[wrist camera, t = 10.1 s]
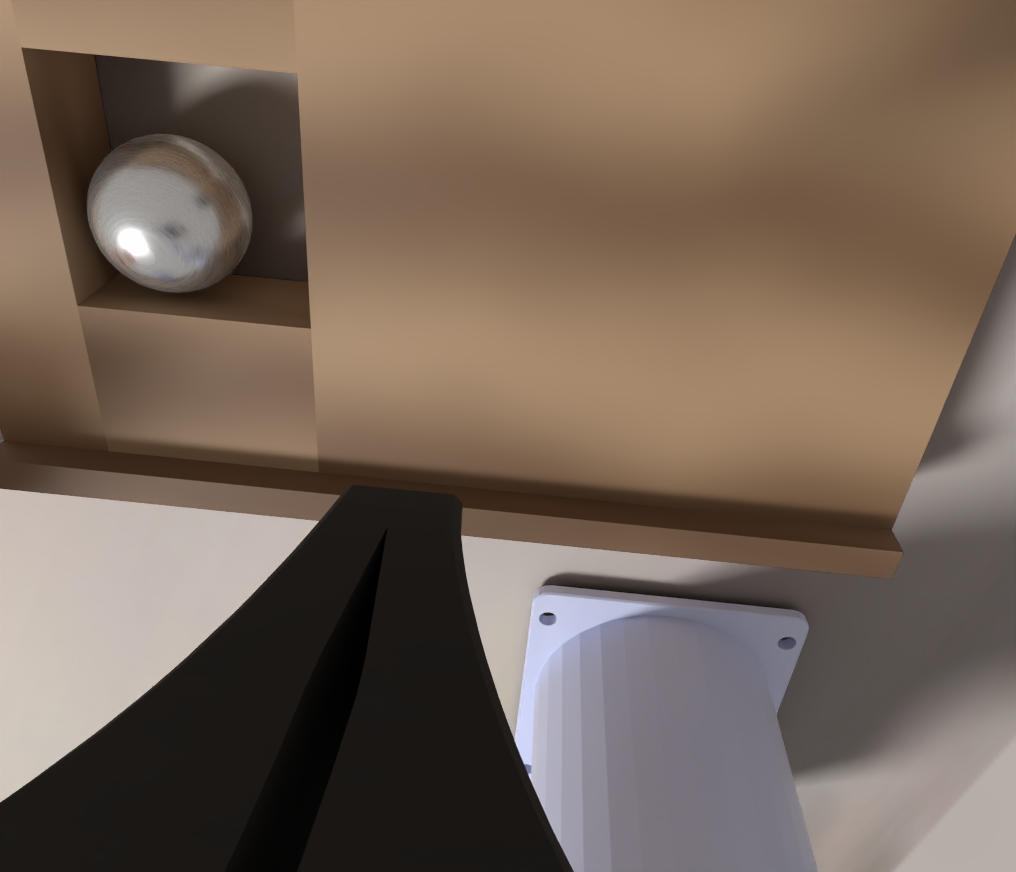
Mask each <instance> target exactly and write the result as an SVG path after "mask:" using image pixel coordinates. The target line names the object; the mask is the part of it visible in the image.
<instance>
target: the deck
mask: <svg viewBox="0 0 1016 872" xmlns="http://www.w3.org/2000/svg"><path fill="white" fill-rule="evenodd" d="M94 54H96V55H107V56H117V57H128V58H138V59H149V60H159V61H170V62H180V63H190V64H201V65H211V66H222V67H232V68H243V69H253V70H264V71H274V72H285V73H295V74H297V80H298V98H299V117H300V135H301V154H302V172H303V191H304V209H305V228H306V246H307V265H308V282H301V281H291V280H281V279H271V278H261V277H250V276H240V275H230V274H229V275H227V276H226V277H225V278H224V279H222V280H221V281H219V282H217V283H215V284H213V285H211V286H209V287H207V288H204V289H201V290H197V291H192V292H182V293H173V292H164V291H158V290H155V289H151V288H148V287H146V286H143V285H141V284H139V283H137V282H135V281H133V280H131V279H129V278H128V277H126V276H125V275H124V274H122V273H121V272H120V271H119V270H117V269H116V268H115V267H114V266H113V265H112V264H111V263H110V262H109V261H108V259H107V258H106V257H105V256H104V255H103V253H102V252H101V250H100V249H99V247H98V245H97V243H96V241H95V239H94V237H93V234H92V232H91V229H90V226H89V222H88V215H87V195H88V189H89V185H90V182H91V180H92V177H93V175H94V173H95V171H96V169H97V168H98V166H99V165H100V163H101V162H102V161H103V159H104V158H105V157H106V156H107V155H108V154H109V153H110V152H111V149H110V143H109V138H108V132H107V126H106V120H105V115H104V109H103V103H102V97H101V92H100V86H99V80H98V74H97V69H96V63H95V57H94ZM1015 235H1016V0H0V428H1V432H2V435H3V438H4V441H3V442H2V443H1V444H0V488H1V489H10V490H20V491H30V492H40V493H50V494H60V495H70V496H79V497H89V498H99V499H109V500H119V501H129V502H139V503H148V504H158V505H168V506H178V507H188V508H198V509H208V510H217V511H227V512H237V513H247V514H257V515H267V516H276V517H286V518H296V519H306V520H316V521H320V520H321V519H322V517H323V516H324V515H325V514H326V513H327V511H328V510H329V509H330V508H331V507H332V505H333V504H334V503H335V502H336V500H337V499H338V498H339V497H340V495H341V494H342V493H343V492H344V491H345V490H346V489H348V488H349V487H351V486H352V485H360V486H371V487H381V488H391V489H402V490H412V491H423V492H433V493H444V494H454V495H455V496H456V497H457V498H458V499H459V500H460V501H461V502H462V503H463V510H462V527H461V535H464V536H474V537H483V538H493V539H503V540H513V541H523V542H533V543H543V544H552V545H562V546H572V547H582V548H592V549H602V550H612V551H621V552H631V553H641V554H651V555H661V556H671V557H681V558H690V559H700V560H710V561H720V562H730V563H740V564H750V565H759V566H769V567H779V568H789V569H799V570H809V571H818V572H828V573H838V574H848V575H858V576H868V577H878V578H887V579H892V577H893V575H894V573H895V570H896V568H897V566H898V564H899V561H900V559H901V557H902V554H903V551H902V549H901V547H900V545H899V543H898V541H897V539H896V538H895V536H894V534H893V532H892V528H893V525H894V523H895V521H896V518H897V516H898V513H899V511H900V509H901V506H902V504H903V501H904V499H905V497H906V494H907V492H908V490H909V487H910V485H911V482H912V480H913V478H914V475H915V473H916V470H917V468H918V466H919V463H920V461H921V459H922V456H923V454H924V451H925V449H926V447H927V444H928V442H929V439H930V437H931V435H932V432H933V430H934V428H935V425H936V423H937V420H938V418H939V416H940V413H941V411H942V409H943V406H944V404H945V401H946V399H947V397H948V394H949V392H950V389H951V387H952V385H953V382H954V380H955V378H956V375H957V373H958V370H959V368H960V366H961V363H962V361H963V358H964V356H965V354H966V351H967V349H968V347H969V344H970V342H971V339H972V337H973V335H974V332H975V330H976V327H977V325H978V323H979V320H980V318H981V316H982V313H983V311H984V308H985V306H986V304H987V301H988V299H989V297H990V294H991V292H992V289H993V287H994V285H995V282H996V280H997V277H998V275H999V273H1000V270H1001V268H1002V266H1003V263H1004V261H1005V258H1006V256H1007V254H1008V251H1009V249H1010V246H1011V244H1012V242H1013V239H1014V237H1015Z"/></svg>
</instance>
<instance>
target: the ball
mask: <svg viewBox="0 0 1016 872" xmlns="http://www.w3.org/2000/svg"><path fill="white" fill-rule="evenodd" d="M87 215H88V222H89V226H90V229H91V232H92V234H93V237H94V239H95V241H96V243H97V245H98V247H99V249H100V250H101V252H102V253H103V255H104V256H105V257H106V258H107V259H108V261H109V262H110V263H111V264H112V265H113V266H114V267H115V268H116V269H117V270H119V271H120V272H121V273H122V274H124V275H125V276H126V277H128V278H129V279H131V280H133V281H135V282H137V283H139V284H141V285H143V286H146V287H148V288H151V289H155V290H158V291H164V292H173V293H182V292H192V291H197V290H201V289H204V288H207V287H209V286H211V285H213V284H215V283H217V282H219V281H221V280H222V279H224V278H225V277H226V276H227V275H229V274H230V273H231V272H232V271H233V270H234V269H235V268H236V267H237V265H238V264H239V262H240V261H241V260H242V258H243V257H244V255H245V252H246V250H247V248H248V245H249V243H250V239H251V234H252V225H253V219H252V208H251V203H250V199H249V197H248V194H247V191H246V188H245V186H244V184H243V182H242V180H241V179H240V177H239V176H238V174H237V173H236V171H235V170H234V169H233V168H232V166H231V165H230V164H229V163H228V162H227V161H226V160H225V159H224V158H222V157H221V156H220V155H219V154H218V153H216V152H215V151H213V150H212V149H211V148H209V147H207V146H205V145H204V144H202V143H200V142H197V141H195V140H193V139H190V138H187V137H183V136H178V135H172V134H150V135H145V136H141V137H137V138H134V139H132V140H129V141H127V142H125V143H123V144H121V145H120V146H118V147H116V148H115V149H114V150H113V151H111V152H110V153H109V154H108V155H107V156H106V157H105V158H104V159H103V161H102V162H101V163H100V165H99V166H98V168H97V169H96V171H95V173H94V175H93V177H92V180H91V182H90V185H89V189H88V195H87Z"/></svg>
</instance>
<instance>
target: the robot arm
mask: <svg viewBox="0 0 1016 872" xmlns="http://www.w3.org/2000/svg"><path fill="white" fill-rule="evenodd" d="M462 510H463V503H462V502H461V501H460V500H459V499H458V498H457V497H456V496H455V495H454V494H444V493H433V492H423V491H412V490H402V489H391V488H381V487H371V486H360V485H352V486H351V487H349V488H348V489H346V490H345V491H344V492H343V493H342V494H341V495H340V497H339V498H338V499H337V500H336V502H335V503H334V504H333V505H332V507H331V508H330V509H329V510H328V511H327V513H326V514H325V515H324V516H323V517H322V519H321V520H320V521H319V522H318V523H317V525H316V526H315V527H314V528H313V529H312V530H311V532H310V533H309V534H308V535H307V536H306V537H305V538H304V540H303V541H302V542H301V543H300V544H299V545H298V546H297V547H296V549H295V550H294V551H293V552H292V553H291V554H290V555H289V556H288V557H287V559H286V560H285V561H284V562H283V563H282V564H281V565H280V566H279V567H278V568H277V569H276V570H275V571H274V572H273V573H272V574H271V575H270V576H269V577H268V579H267V580H266V581H265V582H264V583H263V584H262V585H261V586H260V587H259V588H258V589H257V590H256V591H255V592H254V593H253V594H252V595H251V596H250V597H249V598H248V599H247V600H246V601H245V603H244V604H243V605H242V606H241V607H239V608H238V609H237V610H236V611H235V612H234V613H233V614H232V615H231V616H230V617H229V618H228V619H227V620H226V621H225V622H224V623H223V624H222V625H221V626H220V627H218V628H217V629H216V630H215V631H214V632H213V633H212V634H211V635H210V636H209V637H208V638H207V639H206V640H205V641H204V642H203V643H201V644H200V645H199V646H198V647H197V648H196V649H195V650H194V651H193V652H192V653H191V654H190V655H189V656H188V657H187V658H185V659H184V660H183V661H182V662H181V663H180V664H179V665H178V666H176V667H175V668H174V669H173V670H172V671H171V672H170V673H168V674H167V675H166V676H165V677H164V678H163V679H162V680H160V681H159V682H158V683H157V684H156V685H155V686H153V687H152V688H151V689H150V690H149V691H147V692H146V693H145V694H144V695H143V696H141V697H140V698H139V699H138V700H137V701H135V702H134V703H133V704H132V705H130V706H129V707H128V708H127V709H125V710H124V711H123V712H122V713H120V714H119V715H118V716H117V717H115V718H114V719H113V720H112V721H110V722H109V723H108V724H107V725H105V726H104V727H103V728H102V729H100V730H99V731H98V732H96V733H95V734H94V735H93V736H91V737H90V738H88V739H87V740H86V741H84V742H83V743H82V744H80V745H79V746H78V747H76V748H75V749H74V750H72V751H71V752H70V753H68V754H67V755H66V756H64V757H63V758H61V759H60V760H59V761H57V762H56V763H55V764H53V765H52V766H51V767H49V768H48V769H47V770H45V771H44V772H43V773H41V774H40V775H39V776H37V777H36V778H34V779H33V780H32V781H30V782H29V783H27V784H26V785H25V786H23V787H22V788H20V789H19V790H18V791H16V792H15V793H13V794H12V795H10V796H9V797H8V798H6V799H5V800H3V801H2V802H0V872H818V870H817V866H816V862H815V858H814V855H813V851H812V847H811V843H810V840H809V836H808V832H807V828H806V825H805V821H804V817H803V813H802V810H801V806H800V802H799V798H798V795H797V791H796V787H795V783H794V780H793V776H792V772H791V768H790V765H789V761H788V757H787V753H786V749H785V746H784V742H783V738H782V734H781V731H780V727H779V723H778V719H777V716H776V715H777V712H778V710H779V707H780V704H781V702H782V699H783V697H784V694H785V691H786V689H787V686H788V684H789V681H790V678H791V676H792V673H793V671H794V668H795V665H796V663H797V660H798V657H799V655H800V652H801V650H802V647H803V644H804V642H805V639H806V637H807V634H808V630H809V626H808V623H807V620H806V618H805V616H804V614H802V613H801V612H799V611H796V610H789V609H780V608H770V607H760V606H750V605H740V604H731V603H721V602H711V601H701V600H691V599H682V598H672V597H662V596H652V595H642V594H632V593H623V592H613V591H603V590H593V589H583V588H574V587H564V586H554V585H547V586H543V587H540V588H538V589H537V590H536V591H535V593H534V595H533V600H532V608H531V615H530V623H529V631H528V639H527V647H526V654H525V662H524V670H523V678H522V685H521V693H520V701H519V709H518V717H517V724H516V732H515V740H514V738H513V735H512V733H511V730H510V727H509V725H508V722H507V719H506V717H505V714H504V711H503V708H502V705H501V702H500V700H499V697H498V694H497V691H496V688H495V684H494V681H493V678H492V675H491V672H490V669H489V666H488V663H487V659H486V656H485V652H484V649H483V645H482V642H481V638H480V635H479V631H478V627H477V622H476V618H475V614H474V610H473V606H472V602H471V598H470V593H469V588H468V583H467V578H466V572H465V565H464V558H463V551H462V541H461V527H462ZM546 612H550V613H553V614H554V615H552V616H546V615H543V613H546ZM784 637H791V638H788V639H786V640H780V639H782V638H784Z"/></svg>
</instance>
